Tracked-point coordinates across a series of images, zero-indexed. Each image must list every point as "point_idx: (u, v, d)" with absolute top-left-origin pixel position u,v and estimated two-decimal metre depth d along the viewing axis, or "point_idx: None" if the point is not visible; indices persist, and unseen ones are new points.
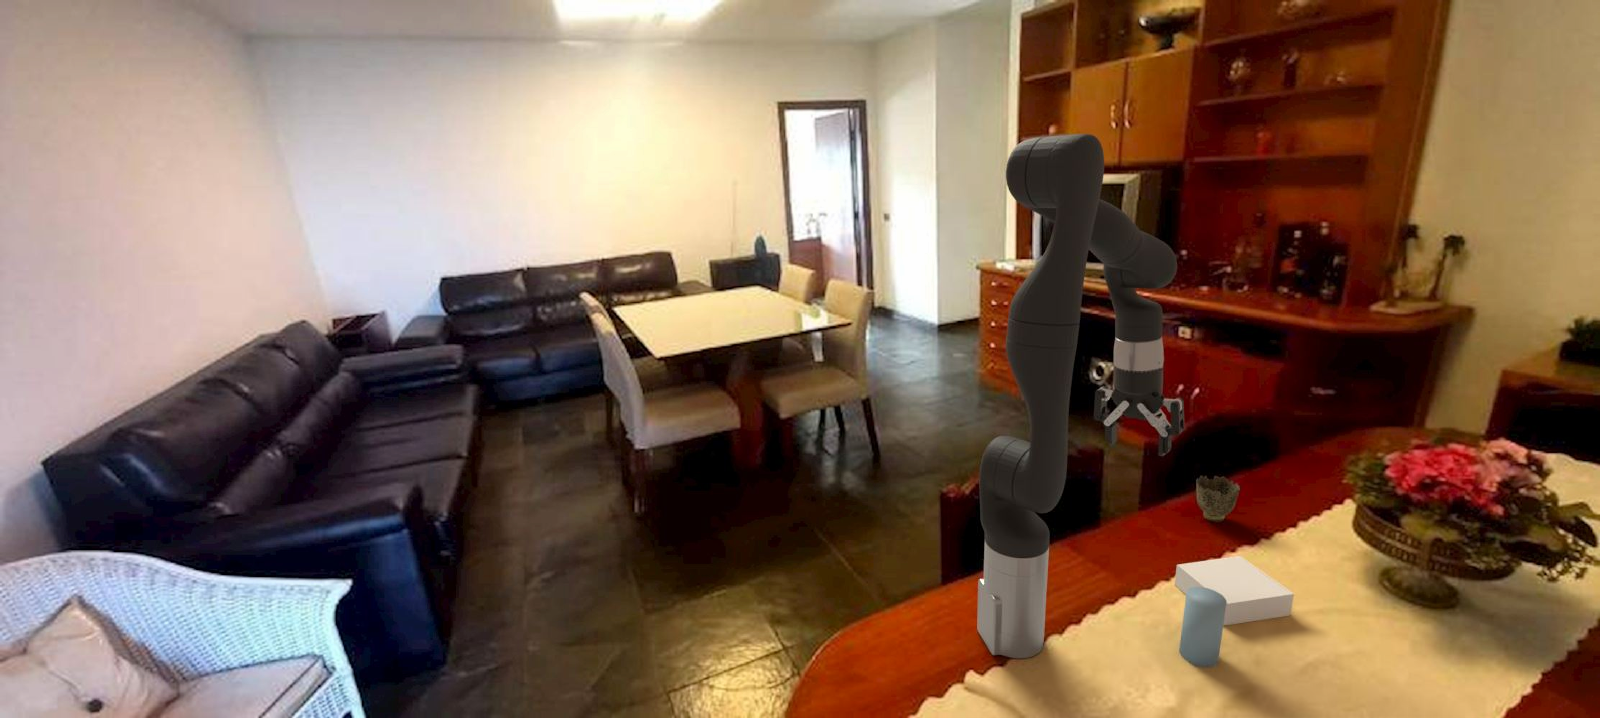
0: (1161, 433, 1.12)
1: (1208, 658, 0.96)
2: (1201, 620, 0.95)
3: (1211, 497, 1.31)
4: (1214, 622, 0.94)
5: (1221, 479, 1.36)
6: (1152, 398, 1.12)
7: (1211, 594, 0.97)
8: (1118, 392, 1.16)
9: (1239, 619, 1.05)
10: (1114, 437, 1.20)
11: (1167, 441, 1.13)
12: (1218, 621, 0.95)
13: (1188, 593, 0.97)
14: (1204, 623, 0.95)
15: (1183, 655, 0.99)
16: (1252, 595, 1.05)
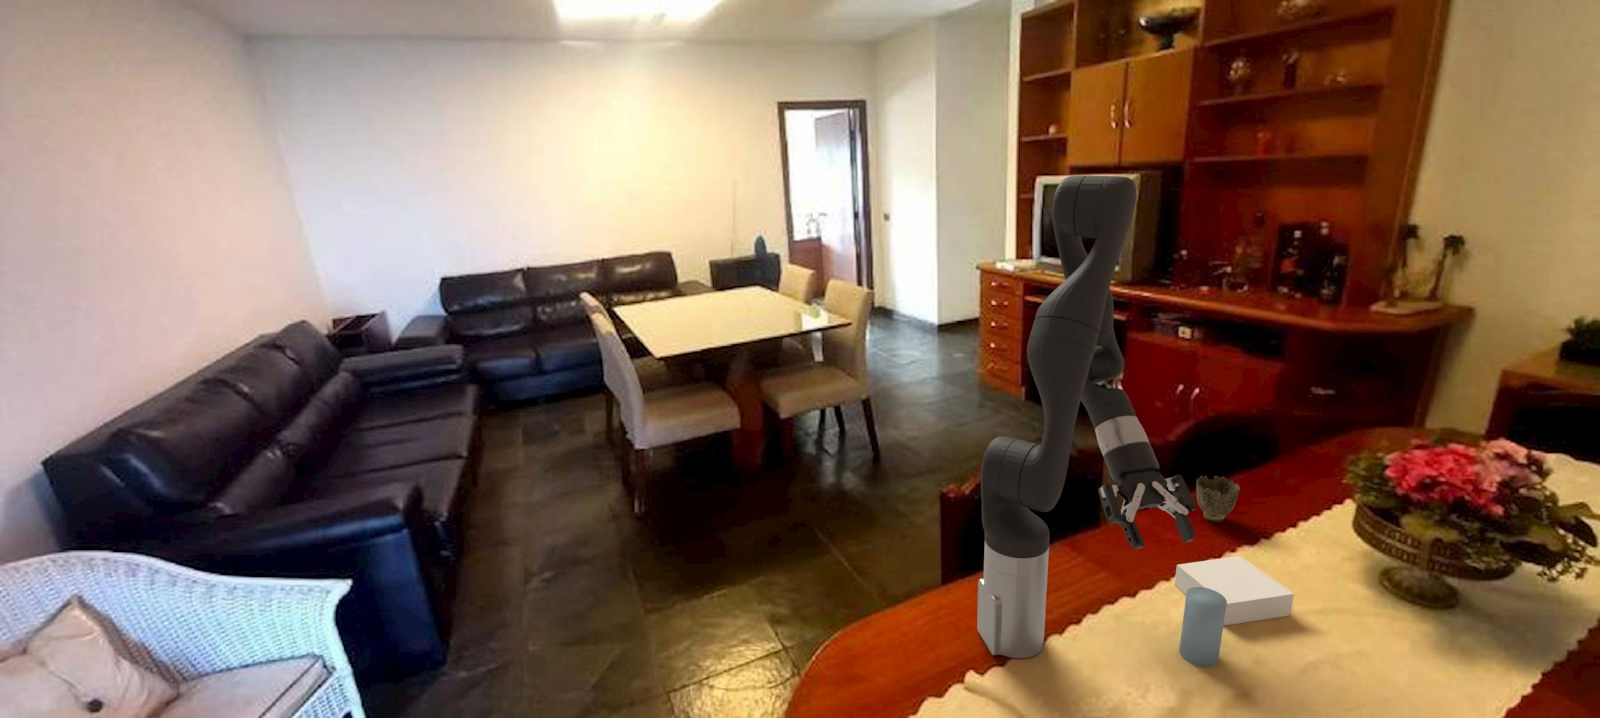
0: (1182, 511, 1.06)
1: (1208, 658, 0.96)
2: (1201, 620, 0.95)
3: (1211, 497, 1.31)
4: (1214, 622, 0.94)
5: (1221, 479, 1.36)
6: (1158, 476, 1.09)
7: (1211, 594, 0.97)
8: (1126, 479, 1.08)
9: (1239, 619, 1.05)
10: None
11: (1189, 521, 1.06)
12: (1218, 621, 0.95)
13: (1188, 593, 0.97)
14: (1204, 623, 0.95)
15: (1183, 655, 0.99)
16: (1252, 595, 1.05)
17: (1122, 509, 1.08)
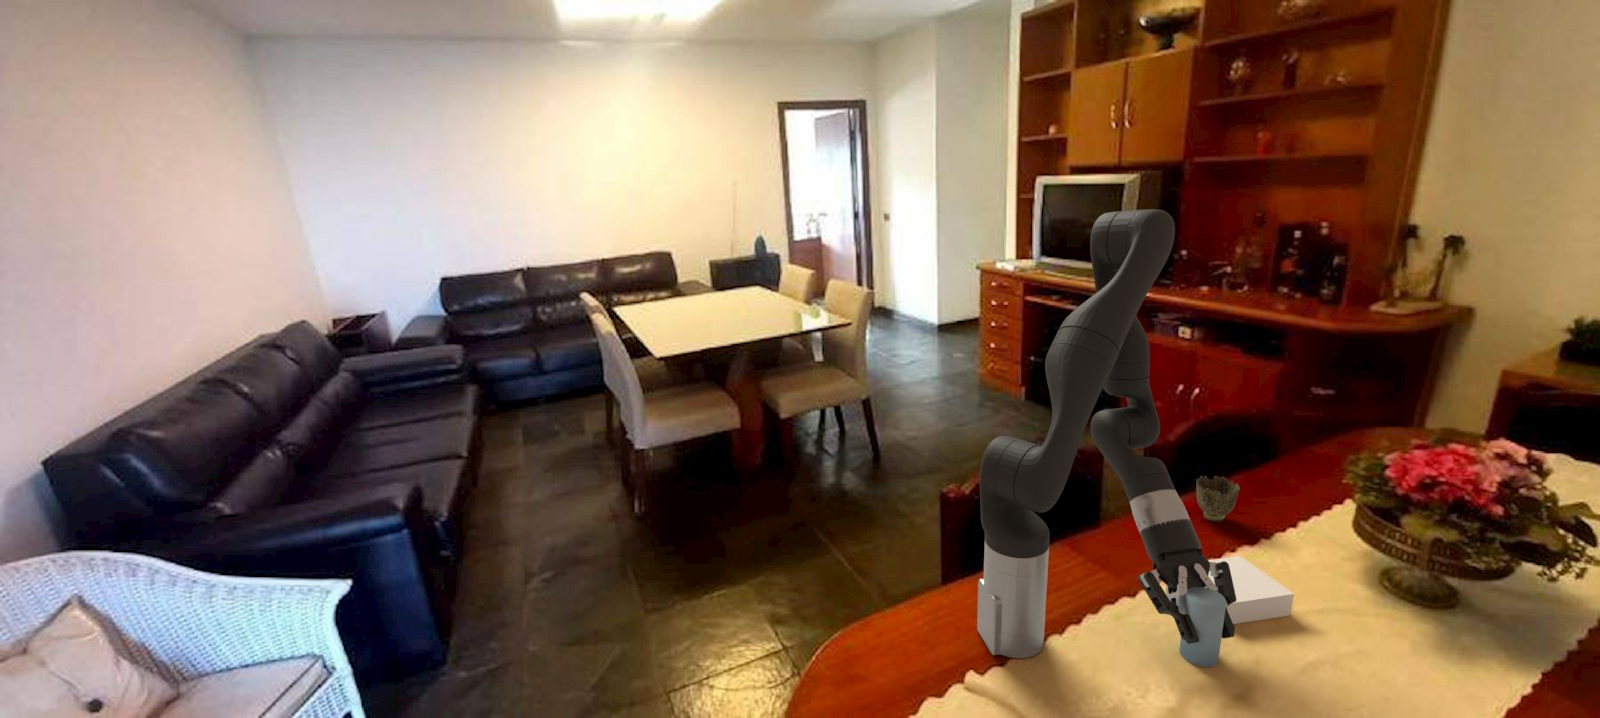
0: None
1: (1208, 658, 0.96)
2: (1201, 620, 0.95)
3: (1211, 497, 1.31)
4: (1214, 622, 0.94)
5: (1221, 479, 1.36)
6: (1201, 557, 1.01)
7: (1211, 594, 0.97)
8: (1164, 561, 1.00)
9: (1239, 619, 1.05)
10: None
11: (1228, 615, 0.97)
12: (1218, 621, 0.95)
13: (1188, 593, 0.97)
14: (1204, 623, 0.95)
15: (1183, 655, 0.99)
16: (1252, 595, 1.05)
17: (1168, 597, 1.00)
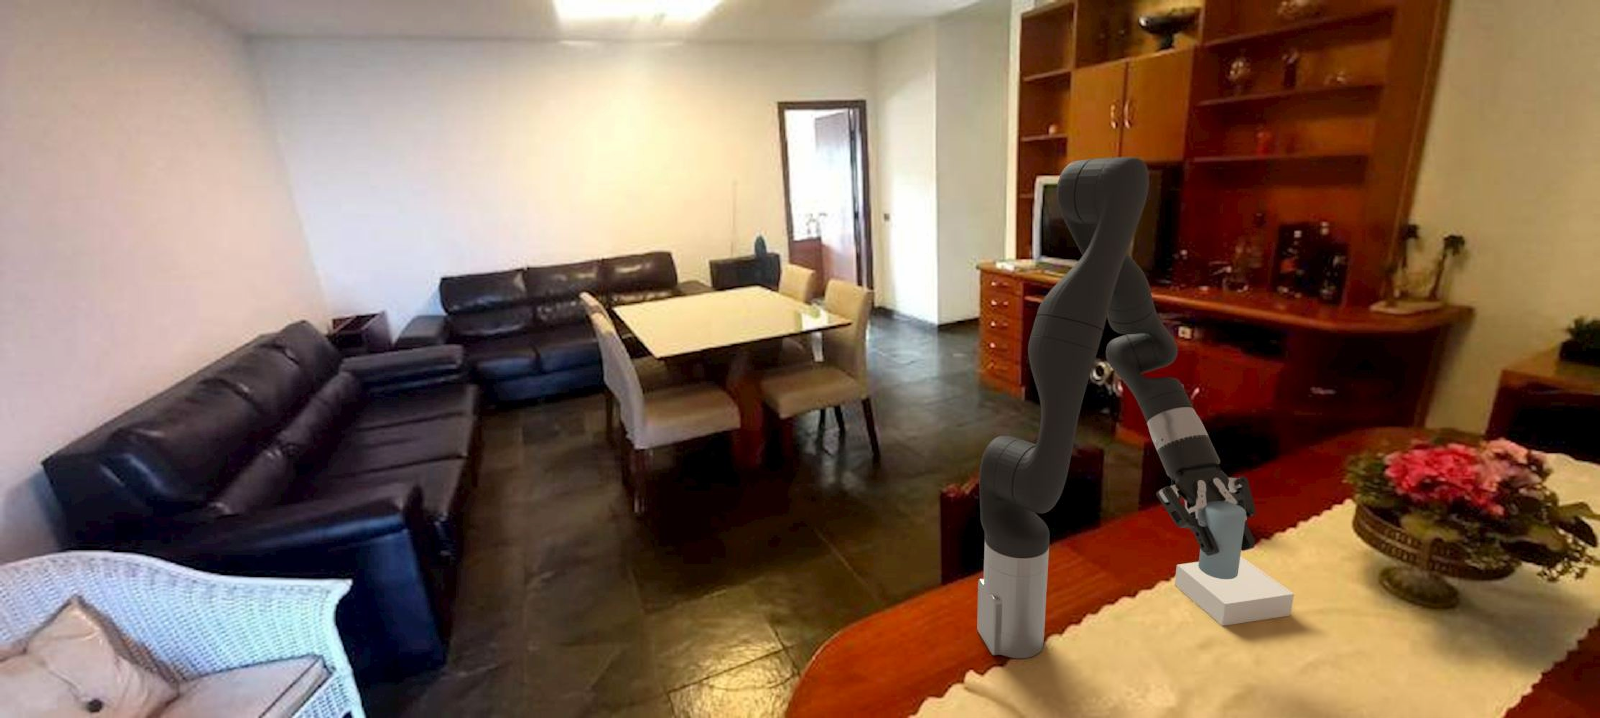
0: None
1: (1228, 570, 0.96)
2: (1220, 531, 0.95)
3: None
4: (1234, 532, 0.94)
5: None
6: (1220, 472, 1.01)
7: (1230, 506, 0.97)
8: (1182, 476, 1.00)
9: (1239, 619, 1.05)
10: None
11: (1247, 527, 0.97)
12: (1238, 531, 0.94)
13: (1207, 506, 0.97)
14: (1224, 534, 0.95)
15: (1202, 569, 0.98)
16: (1252, 595, 1.05)
17: (1187, 512, 1.00)
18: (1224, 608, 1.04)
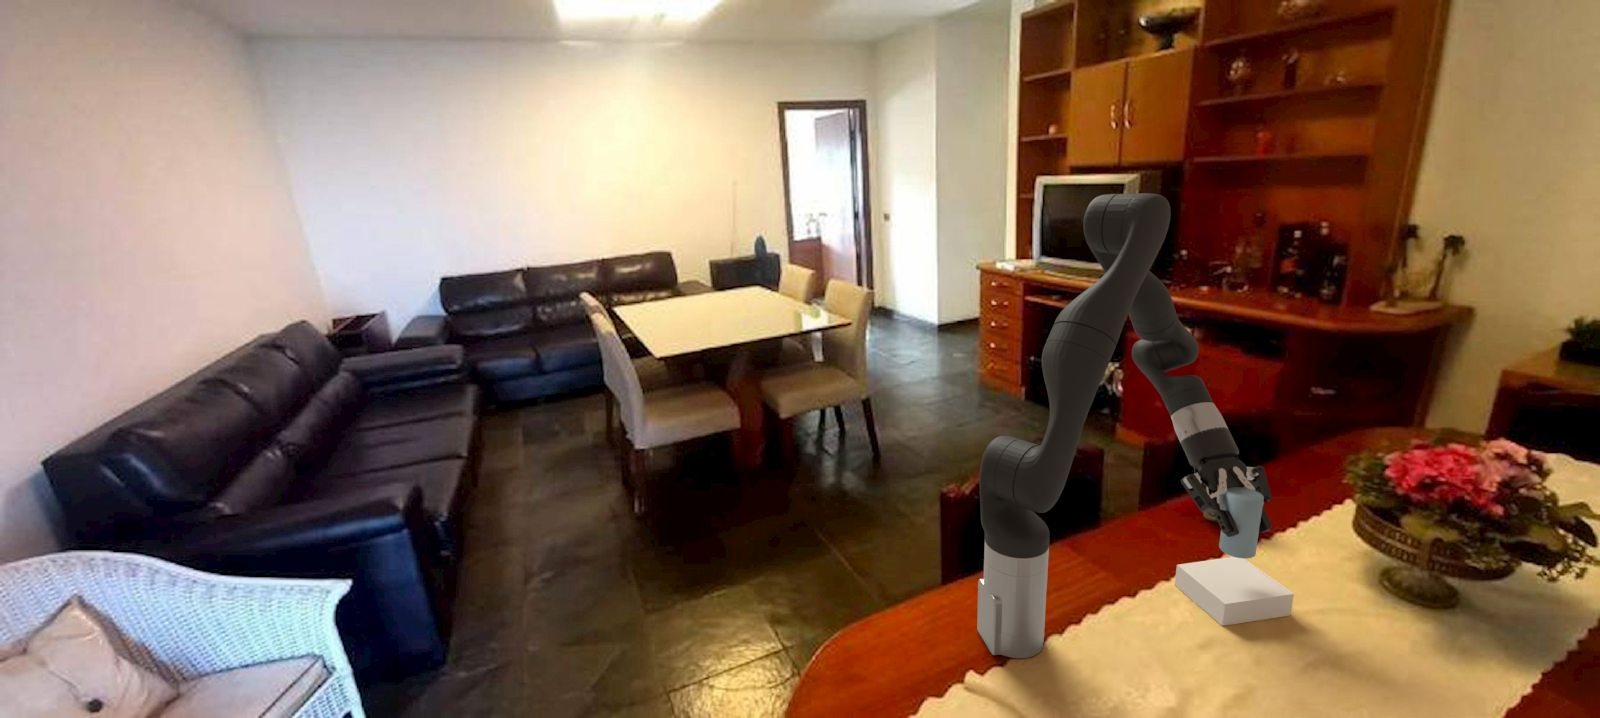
0: None
1: (1247, 549, 1.05)
2: (1240, 514, 1.04)
3: None
4: (1252, 515, 1.04)
5: None
6: (1239, 462, 1.10)
7: (1249, 492, 1.06)
8: (1205, 465, 1.09)
9: (1239, 619, 1.05)
10: None
11: (1264, 511, 1.07)
12: (1256, 514, 1.04)
13: (1228, 491, 1.07)
14: (1243, 517, 1.04)
15: (1223, 549, 1.08)
16: (1252, 595, 1.05)
17: None
18: (1224, 608, 1.04)
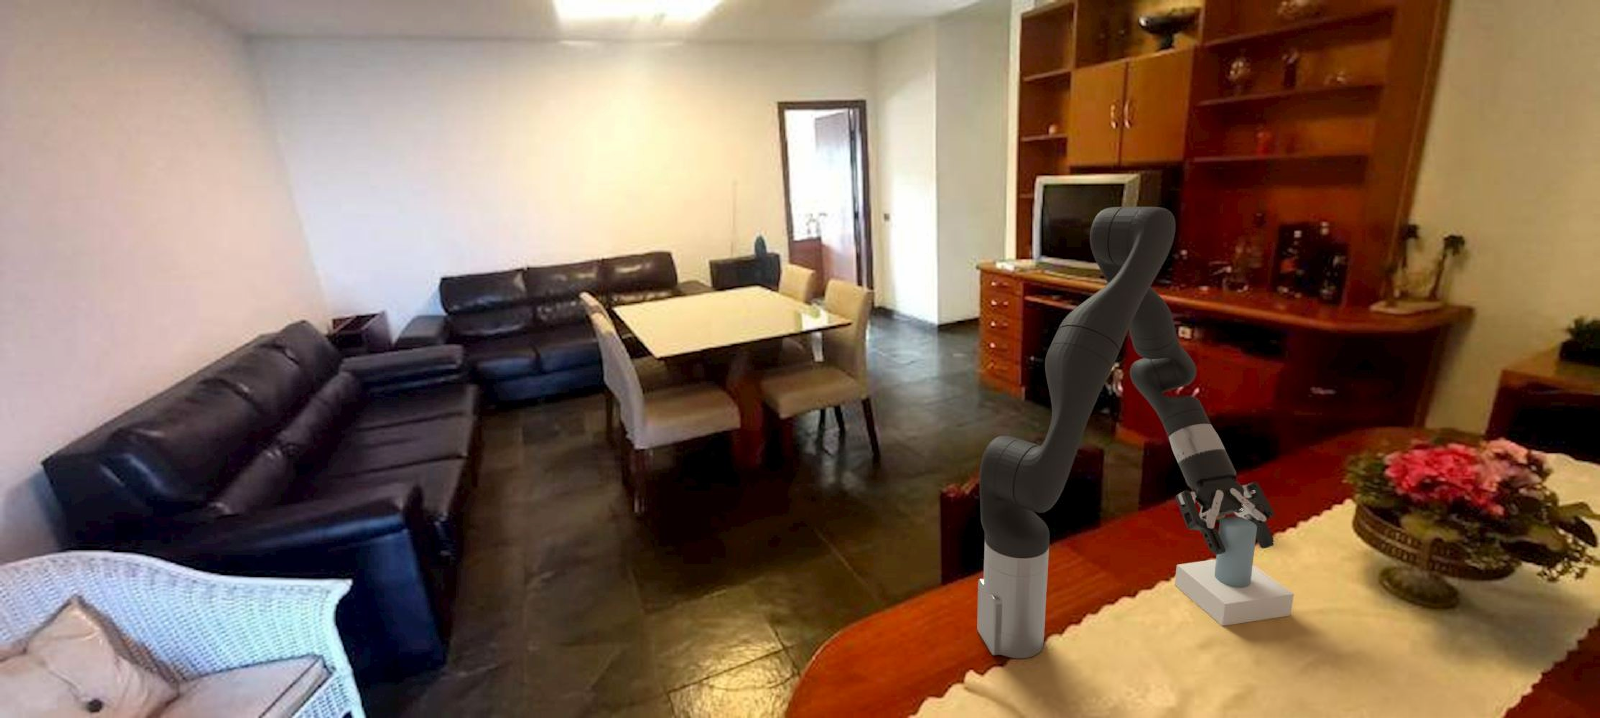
0: (1260, 518, 1.08)
1: (1241, 579, 1.07)
2: (1234, 544, 1.06)
3: None
4: (1246, 545, 1.05)
5: None
6: (1234, 483, 1.11)
7: (1243, 522, 1.07)
8: (1204, 486, 1.10)
9: (1239, 619, 1.05)
10: None
11: (1267, 527, 1.08)
12: (1250, 544, 1.05)
13: (1221, 521, 1.08)
14: (1237, 547, 1.06)
15: (1218, 578, 1.09)
16: (1252, 595, 1.05)
17: (1200, 515, 1.10)
18: (1224, 608, 1.04)
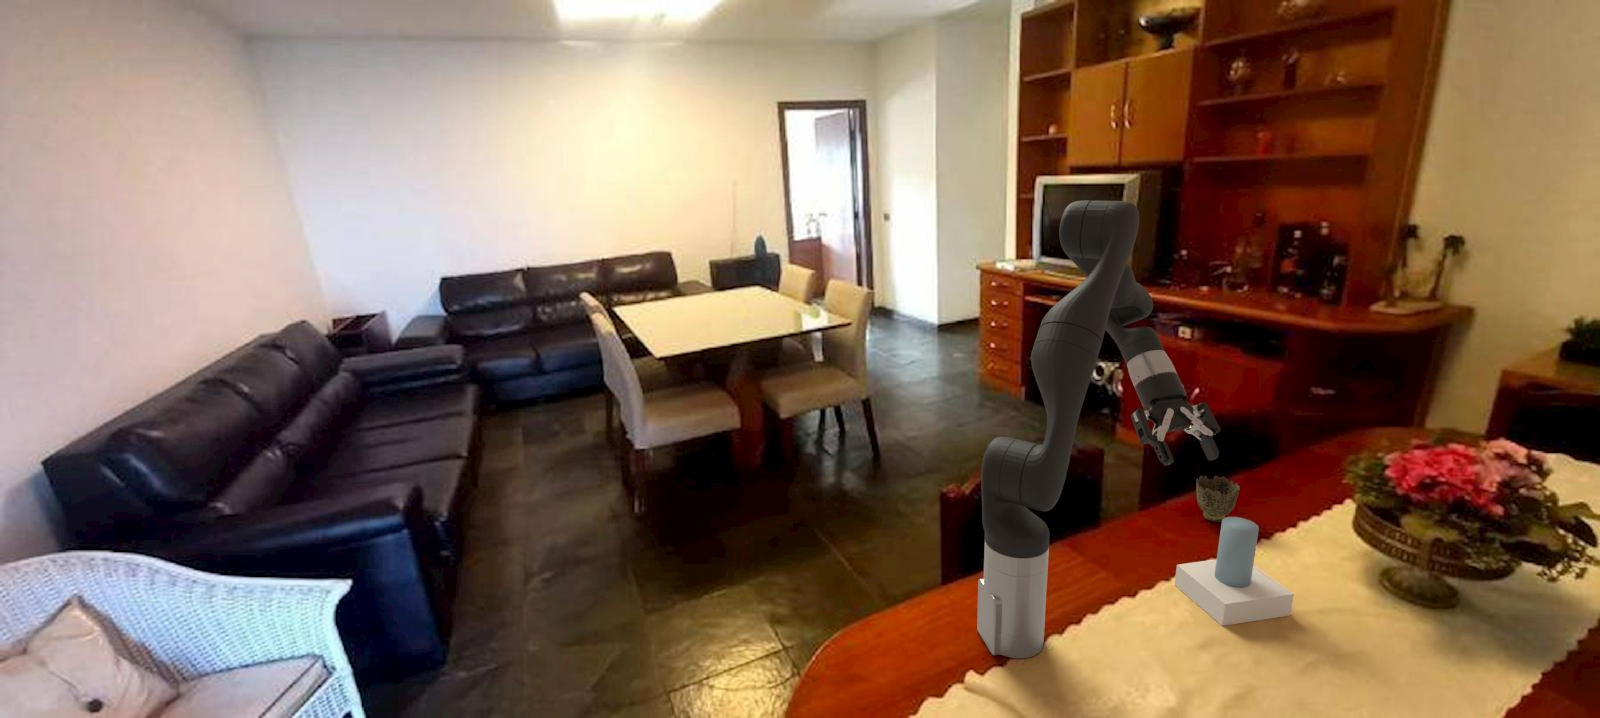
0: (1207, 433, 1.18)
1: (1241, 579, 1.07)
2: (1235, 544, 1.06)
3: (1211, 497, 1.31)
4: (1247, 546, 1.05)
5: (1221, 479, 1.36)
6: (1185, 403, 1.21)
7: (1245, 522, 1.07)
8: (1156, 405, 1.20)
9: (1239, 619, 1.05)
10: None
11: (1213, 441, 1.18)
12: (1251, 545, 1.05)
13: (1223, 521, 1.08)
14: (1238, 547, 1.06)
15: (1218, 578, 1.09)
16: (1252, 595, 1.05)
17: (1153, 432, 1.20)
18: (1224, 608, 1.04)
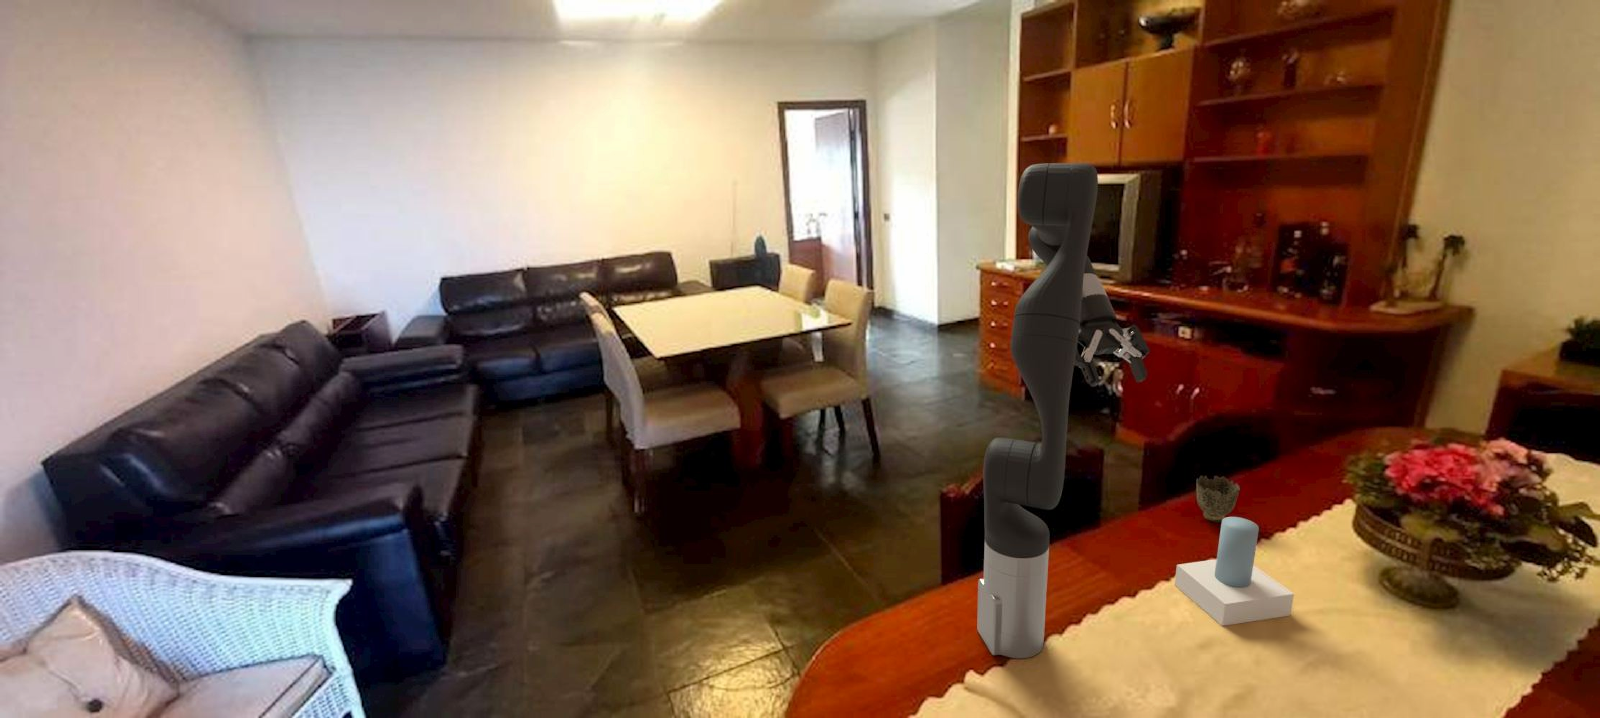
0: (1136, 354, 1.16)
1: (1241, 579, 1.07)
2: (1235, 544, 1.06)
3: (1211, 497, 1.31)
4: (1247, 546, 1.05)
5: (1221, 479, 1.36)
6: (1115, 326, 1.19)
7: (1245, 522, 1.07)
8: (1085, 328, 1.18)
9: (1239, 619, 1.05)
10: None
11: (1142, 363, 1.16)
12: (1251, 545, 1.05)
13: (1223, 521, 1.08)
14: (1238, 547, 1.06)
15: (1218, 578, 1.09)
16: (1252, 595, 1.05)
17: (1082, 355, 1.18)
18: (1224, 608, 1.04)
